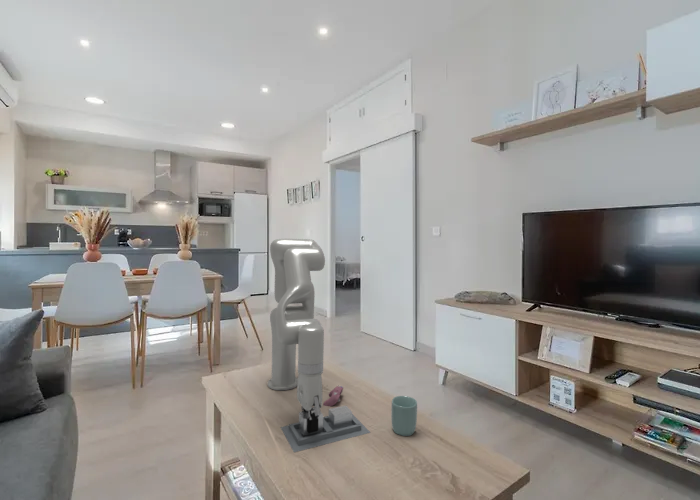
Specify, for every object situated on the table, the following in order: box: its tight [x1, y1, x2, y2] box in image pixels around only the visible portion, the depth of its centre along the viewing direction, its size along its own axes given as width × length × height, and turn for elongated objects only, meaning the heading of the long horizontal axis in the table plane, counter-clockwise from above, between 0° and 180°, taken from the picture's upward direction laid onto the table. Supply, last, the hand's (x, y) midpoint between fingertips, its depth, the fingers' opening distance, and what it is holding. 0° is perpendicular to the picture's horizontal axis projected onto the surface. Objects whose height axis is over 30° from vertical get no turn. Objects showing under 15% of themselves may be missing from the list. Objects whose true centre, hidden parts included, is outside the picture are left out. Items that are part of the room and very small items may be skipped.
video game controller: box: [322, 385, 344, 407], centre depth 127 cm, size 10×5×7 cm, turn 170°
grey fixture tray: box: [280, 413, 371, 453], centre depth 107 cm, size 14×24×2 cm, turn 116°
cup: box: [390, 395, 418, 437], centre depth 108 cm, size 8×8×10 cm
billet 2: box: [328, 405, 353, 430], centre depth 109 cm, size 4×6×5 cm
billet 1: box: [298, 410, 324, 436], centre depth 105 cm, size 4×6×5 cm
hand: (309, 426), depth 105 cm, fingers closed on billet 1, 4 cm apart
